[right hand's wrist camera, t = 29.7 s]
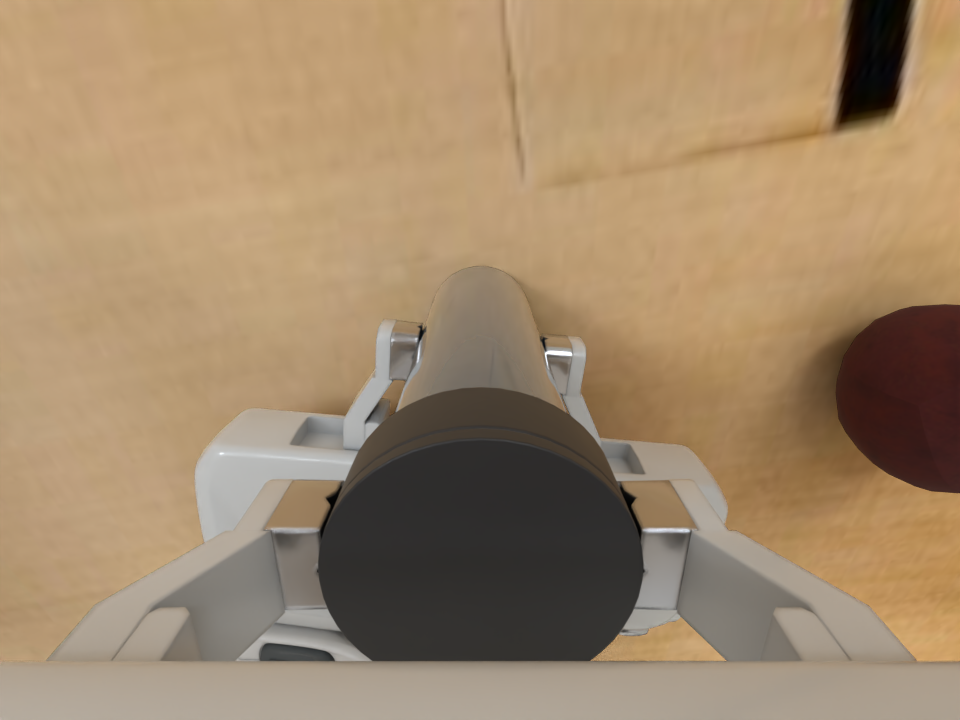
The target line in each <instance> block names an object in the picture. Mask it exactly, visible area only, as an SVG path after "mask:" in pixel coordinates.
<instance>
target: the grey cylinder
mask: <svg viewBox="0 0 960 720" xmlns="http://www.w3.org/2000/svg"><path fill="white" fill-rule="evenodd" d="M474 387H487V388H501V389H507V390H512V391H518V392H521V393H525V394H528V395H531V396H534V397H537V398H540V399H542V400H544V401H546V402H548V403H551V404H553V405H555V406H556V407H558V408H560V409H561V410H563V411H564V412H566V410H565V407H564V404H563V401H562V398H561V395H560V392H559V389H558V387H557V384H556V381H555V378H554V375H553V372H552V369H551V366H550V363H549V361H548V358H547V355H546V352H545V349H544V346H543V343H542V340H541V338H540V335H539V332H538V329H537V326H536V323H535V320H534V317H533V314H532V312H531V309H530V306H529V303H528V300H527V297H526V295H525V293H524V291H523V289H522V288H521V286H520V285H519V284H518V283H517V282H516V281H515V280H514V279H513V278H512V277H511V276H510V275H508V274H506V273H505V272H503V271H501V270H498V269H495V268H492V267H485V266H476V267H469V268H466V269H463V270H460V271H458V272H456V273H455V274H453V275H451V276H450V277H449V278H448V279H446V280H445V282H444V283H443V284H442V285H441V286H440V288H439V289H438V291H437V293H436V295H435V297H434V300H433V303H432V306H431V309H430V312H429V315H428V317H427V320H426V323H425V326H424V329H423V332H422V335H421V338H420V341H419V344H418V346H417V349H416V352H415V355H414V358H413V361H412V364H411V367H410V370H409V373H408V376H407V378H406V381H405V384H404V387H403V390H402V393H401V396H400V399H399V402H398V405H397V408H396V410H395V412H397V411H399V410H400V409H402V408H403V407H405V406H407V405H409V404H411V403H413V402H415V401H417V400H420V399H422V398H424V397H427V396H430V395H434V394H437V393H440V392H444V391H449V390H455V389H460V388H474ZM566 413H567V412H566Z"/></svg>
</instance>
